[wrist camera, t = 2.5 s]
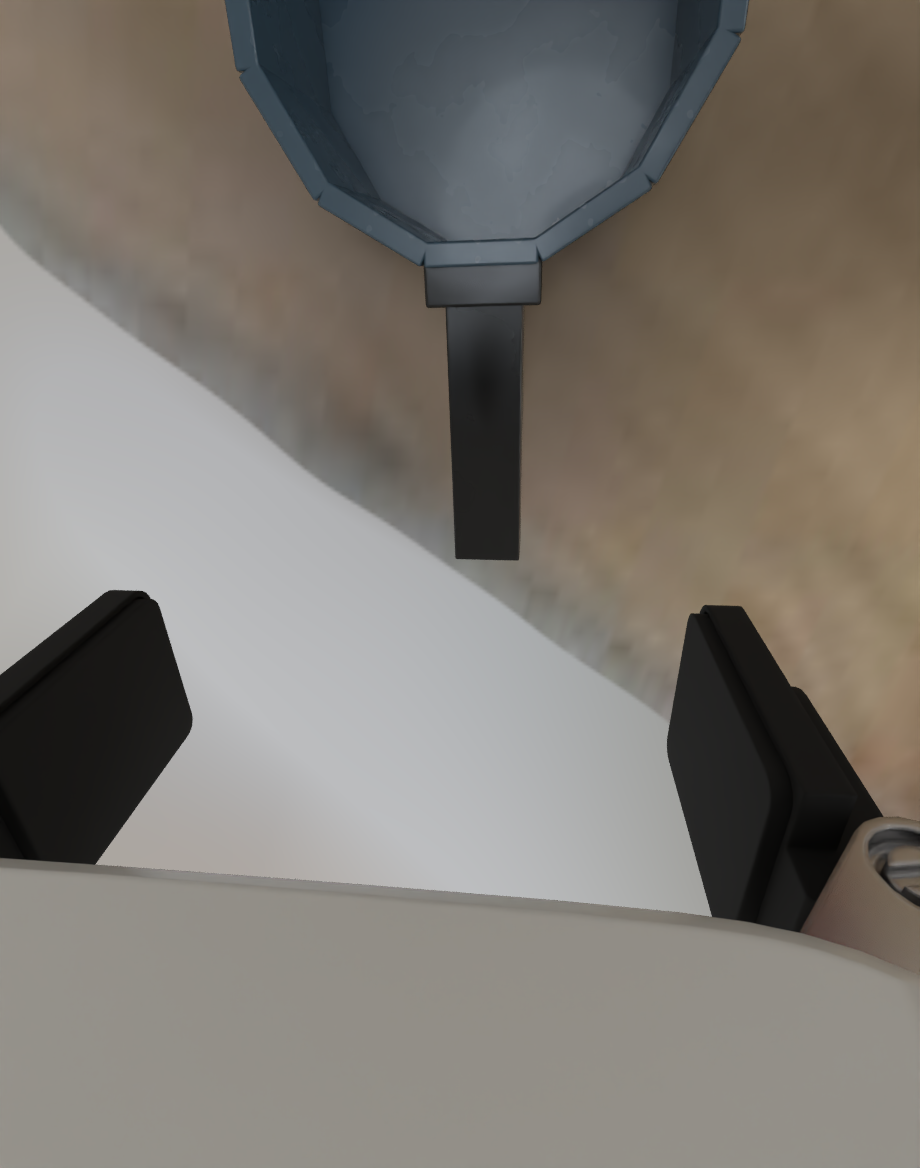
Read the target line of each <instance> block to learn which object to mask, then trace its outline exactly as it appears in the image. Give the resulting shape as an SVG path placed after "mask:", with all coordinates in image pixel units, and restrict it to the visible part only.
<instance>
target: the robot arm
mask: <svg viewBox="0 0 920 1168" xmlns="http://www.w3.org/2000/svg"><path fill="white" fill-rule="evenodd" d="M191 727H192V713H191V709H190V706H189V703H188V699H187V696H186V693H185V690H184V687H183V683H182V680H181V676H180V673H179V670H178V666H177V663H176V660H175V657H174V654H173V650H172V647H171V644H170V640H169V637H168V634H167V630H166V628H165V624H164V621H163V617H162V614H161V611H160V607H159V606H158V603H157V602H156V601H155V600H153V599H150V597H149V595H148V594H147V593H145V592H143V591H123V590H110V591H108V592H106V593H104V594H103V595H102V596H100V597H99V598H98V599H97V600H95V601H94V602H93V603H92V604H90V605H89V606H88V607H86V608H85V609H84V610H82V611H81V612H80V613H79V614H77V615H76V616H75V617H74V618H72V619H71V620H70V621H68V622H67V623H66V624H65V625H63V626H62V627H61V628H59V629H58V630H57V631H56V632H54V633H53V634H52V635H51V636H49V637H48V638H47V639H46V640H44V641H43V642H42V643H40V644H39V645H38V646H37V647H35V648H34V649H33V650H32V651H30V652H29V653H28V654H26V655H25V656H24V657H22V658H21V659H20V660H19V661H17V662H16V663H15V664H14V665H12V666H11V667H10V668H9V669H7V670H6V671H5V672H3V673H2V674H1V675H0V1168H920V821H916V820H911V819H906V818H902V817H883V815H882V814H881V812H880V810H879V809H878V807H877V806H876V804H875V802H874V801H873V799H872V798H871V796H870V795H869V793H868V791H867V790H866V788H865V787H864V785H863V784H862V782H861V780H860V779H859V777H858V776H857V774H856V773H855V771H854V769H853V768H852V766H851V765H850V763H849V762H848V760H847V758H846V757H845V755H844V754H843V752H842V750H841V749H840V747H839V746H838V744H837V743H836V741H835V739H834V738H833V736H832V735H831V733H830V732H829V730H828V728H827V727H826V725H825V724H824V722H823V721H822V719H821V717H820V716H819V714H818V713H817V711H816V710H815V708H814V706H813V705H812V703H811V702H810V700H809V698H808V697H807V695H806V694H805V693H804V692H803V691H802V690H801V689H799V688H797V687H791V686H790V684H789V682H788V681H787V679H786V678H785V676H784V674H783V673H782V671H781V669H780V668H779V666H778V664H777V663H776V661H775V660H774V658H773V656H772V655H771V653H770V651H769V650H768V648H767V646H766V645H765V643H764V642H763V640H762V638H761V637H760V635H759V633H758V632H757V630H756V628H755V627H754V625H753V624H752V622H751V620H750V619H749V617H748V615H747V614H746V612H745V610H744V609H743V608H742V607H741V606H716V605H704V606H703V607H702V609H701V611H700V614H690V616H689V618H688V622H687V628H686V634H685V639H684V645H683V651H682V657H681V662H680V668H679V674H678V680H677V685H676V691H675V697H674V702H673V708H672V714H671V720H670V725H669V731H668V739H667V753H668V758H669V763H670V766H671V770H672V773H673V777H674V781H675V784H676V788H677V791H678V795H679V798H680V802H681V806H682V810H683V813H684V817H685V821H686V824H687V828H688V831H689V835H690V838H691V842H692V845H693V849H694V852H695V856H696V860H697V864H698V867H699V871H700V875H701V878H702V882H703V885H704V889H705V893H706V896H707V900H708V903H709V907H710V911H711V914H712V917H709V916H701V915H694V914H687V913H679V912H669V911H660V910H659V911H658V910H649V909H639V908H629V907H619V906H609V905H598V904H588V903H578V902H568V901H558V900H546V899H534V898H521V897H509V896H496V895H484V894H472V893H460V892H448V891H436V890H423V889H410V888H399V887H386V886H374V885H362V884H349V883H335V882H322V881H309V880H296V879H283V878H270V877H257V876H243V875H230V874H217V873H203V872H190V871H176V870H163V869H149V868H135V867H121V866H105V865H95V864H96V863H97V861H98V860H99V858H100V857H101V856H102V854H103V853H104V852H105V850H106V849H107V847H108V846H109V845H110V843H111V842H112V840H113V839H114V838H115V836H116V835H117V833H118V832H119V831H120V829H121V828H122V827H123V825H124V824H125V822H126V821H127V820H128V818H129V817H130V815H131V814H132V813H133V811H134V810H135V808H136V807H137V806H138V804H139V803H140V801H141V800H142V799H143V797H144V796H145V794H146V793H147V792H148V790H149V789H150V788H151V786H152V785H153V783H154V782H155V781H156V779H157V778H158V776H159V775H160V774H161V772H162V771H163V769H164V768H165V767H166V765H167V764H168V763H169V761H170V760H171V758H172V757H173V755H174V754H175V753H176V751H177V750H178V749H179V747H180V746H181V744H182V743H183V742H184V740H185V739H186V737H187V736H188V734H189V733H190V730H191Z"/></svg>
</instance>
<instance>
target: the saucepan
mask: <svg viewBox="0 0 920 1168" xmlns="http://www.w3.org/2000/svg"><path fill="white" fill-rule="evenodd" d="M225 5H226V11H227V17H228V23H229V29H230V35H231V41H232V48H233V54H234V60H235V66H236V69H237V71H239V72H240V73H242V74H241V75H240V80H241V82H242V84H243V85H244V87H245V89H246V90H247V92H248V93H249V95H250V97H251V98H252V100H253V102H254V103H255V105H256V107H257V108H258V110H259V111H260V113H261V115H262V116H263V118H264V120H265V121H266V123H267V125H268V126H269V128H270V129H271V131H272V133H273V134H274V136H275V138H276V139H277V141H278V143H279V144H280V146H281V148H282V149H283V151H284V152H285V154H286V156H287V157H288V159H289V161H290V162H291V164H292V166H293V167H294V169H295V170H296V172H297V174H298V175H299V177H300V179H301V180H302V182H303V184H304V185H305V187H306V189H307V190H308V192H309V193H310V195H311V197H312V198H313V199H314V200H316V201H319V202H318V205H319V206H320V207H322V208H323V209H325V210H327V211H328V212H330V213H332V214H333V215H335V216H337V217H338V218H340V219H342V220H343V221H345V222H347V223H348V224H350V225H352V226H353V227H355V228H357V229H358V230H360V231H362V232H363V233H365V234H366V235H368V236H370V237H371V238H373V239H375V240H376V241H378V242H380V243H381V244H383V245H385V246H386V247H388V248H390V249H391V250H393V251H395V252H396V253H398V254H400V255H401V256H403V257H405V258H406V259H408V260H409V261H411V262H413V263H414V264H416V265H418V266H424V281H425V299H426V306H427V307H428V308H445V307H446V332H447V357H448V382H449V407H450V432H451V457H452V482H453V507H454V532H455V557H456V559H480V560H519V553H520V537H521V478H522V419H523V359H524V305H539V304H540V303H541V290H542V261H546V260H547V259H549V258H550V257H552V256H553V255H555V254H556V253H558V252H559V251H561V250H562V249H564V248H565V247H567V246H568V245H570V244H571V243H573V242H574V241H576V240H577V239H579V238H580V237H581V236H583V235H584V234H586V233H587V232H589V231H590V230H592V229H593V228H595V227H596V226H598V225H599V224H601V223H602V222H604V221H605V220H607V219H608V218H610V217H611V216H613V215H614V214H616V213H617V212H619V211H620V210H622V209H623V208H625V207H626V206H628V205H629V204H631V203H632V202H634V201H635V200H637V199H638V198H640V197H641V196H643V195H644V194H646V193H647V192H649V191H650V190H651V189H652V186H653V185H655V184H656V183H657V182H658V181H659V180H660V178H661V176H662V174H663V173H664V171H665V169H666V168H667V166H668V164H669V163H670V161H671V159H672V157H673V156H674V154H675V152H676V151H677V149H678V147H679V146H680V144H681V142H682V140H683V139H684V137H685V135H686V134H687V132H688V130H689V128H690V127H691V125H692V123H693V122H694V120H695V118H696V117H697V115H698V113H699V111H700V110H701V108H702V106H703V105H704V103H705V101H706V100H707V98H708V96H709V94H710V93H711V91H712V89H713V88H714V86H715V84H716V83H717V81H718V79H719V77H720V76H721V74H722V72H723V71H724V69H725V67H726V65H727V64H728V62H729V60H730V59H731V57H732V55H733V54H734V52H735V50H736V48H737V47H738V45H739V43H740V41H741V38H740V37H739V36H740V35H741V33H742V32H743V31H744V29H745V25H746V18H747V12H748V5H749V0H225Z"/></svg>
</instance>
